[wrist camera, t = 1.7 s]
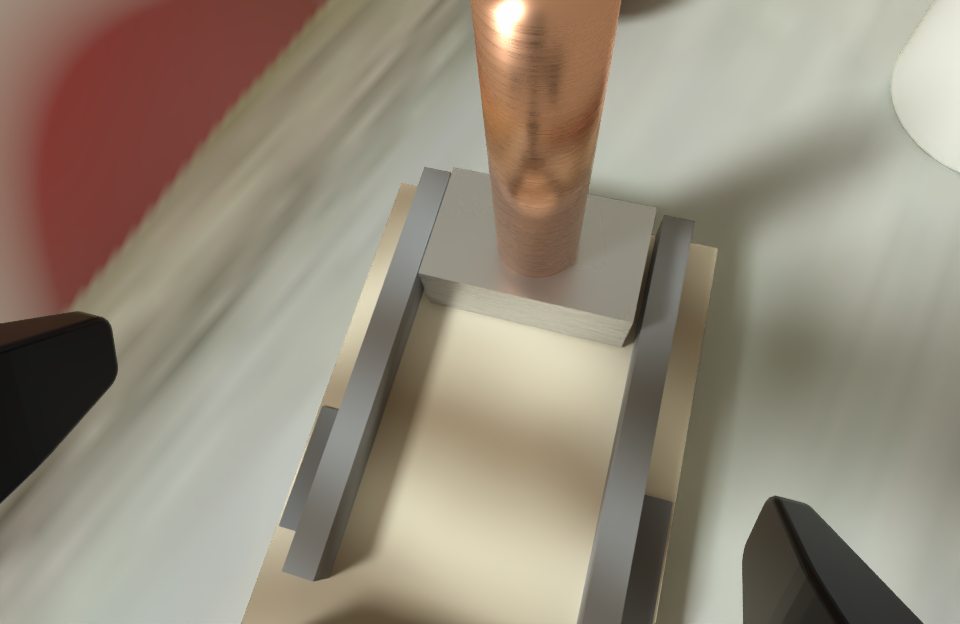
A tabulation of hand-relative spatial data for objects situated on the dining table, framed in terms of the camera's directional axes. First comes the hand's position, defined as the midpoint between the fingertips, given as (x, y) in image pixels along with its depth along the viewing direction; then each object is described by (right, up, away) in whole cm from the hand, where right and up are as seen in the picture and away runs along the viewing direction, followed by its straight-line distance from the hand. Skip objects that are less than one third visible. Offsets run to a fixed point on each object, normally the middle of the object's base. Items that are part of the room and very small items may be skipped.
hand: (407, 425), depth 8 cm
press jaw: (+3, +3, +14) cm, 14 cm away
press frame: (+1, -4, +13) cm, 14 cm away
